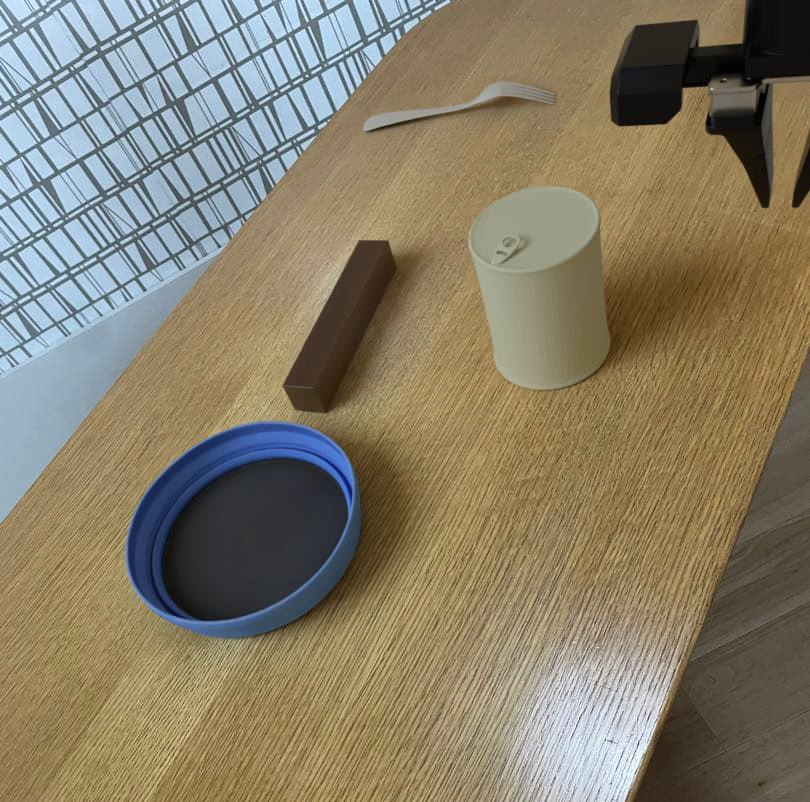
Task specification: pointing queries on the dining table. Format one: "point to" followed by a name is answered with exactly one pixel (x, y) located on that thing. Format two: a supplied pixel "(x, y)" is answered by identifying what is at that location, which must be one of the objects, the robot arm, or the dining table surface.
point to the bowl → (245, 530)
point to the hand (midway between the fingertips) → (780, 203)
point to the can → (543, 285)
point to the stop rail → (340, 327)
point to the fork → (488, 93)
